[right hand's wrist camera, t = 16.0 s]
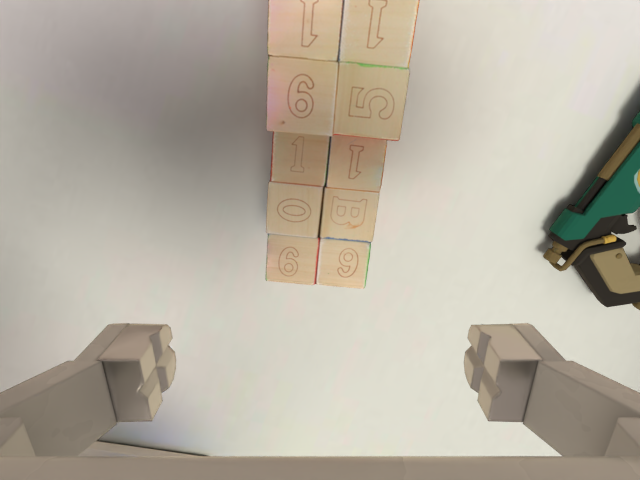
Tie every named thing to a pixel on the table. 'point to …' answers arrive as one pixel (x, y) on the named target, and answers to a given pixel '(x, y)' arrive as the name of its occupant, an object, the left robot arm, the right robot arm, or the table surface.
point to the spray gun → (604, 228)
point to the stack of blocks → (331, 131)
